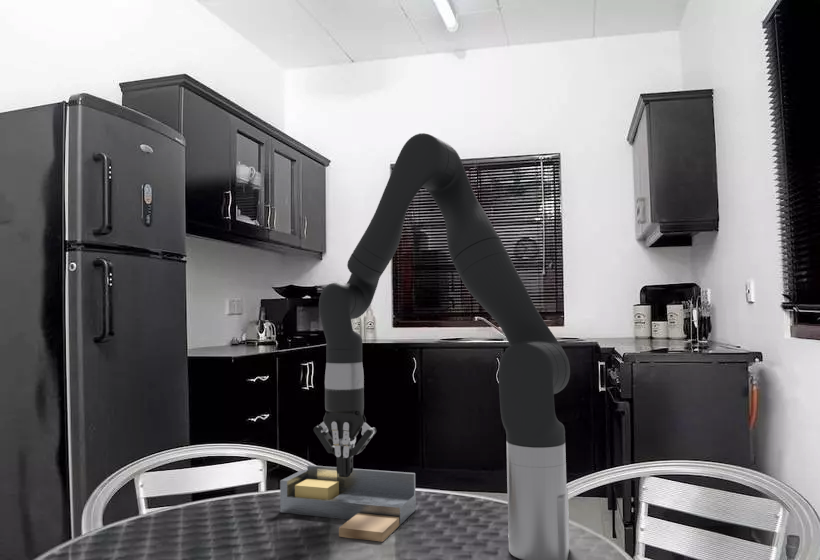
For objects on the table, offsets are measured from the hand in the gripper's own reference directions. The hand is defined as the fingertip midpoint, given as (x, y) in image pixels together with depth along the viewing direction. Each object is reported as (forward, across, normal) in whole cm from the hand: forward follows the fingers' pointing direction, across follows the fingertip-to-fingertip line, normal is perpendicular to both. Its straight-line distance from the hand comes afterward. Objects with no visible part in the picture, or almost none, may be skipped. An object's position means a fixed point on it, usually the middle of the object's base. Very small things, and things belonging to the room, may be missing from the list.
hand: (344, 476), depth 117 cm
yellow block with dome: (+4, +2, 0) cm, 5 cm away
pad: (+7, -9, +9) cm, 14 cm away
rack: (+7, -1, 0) cm, 7 cm away
